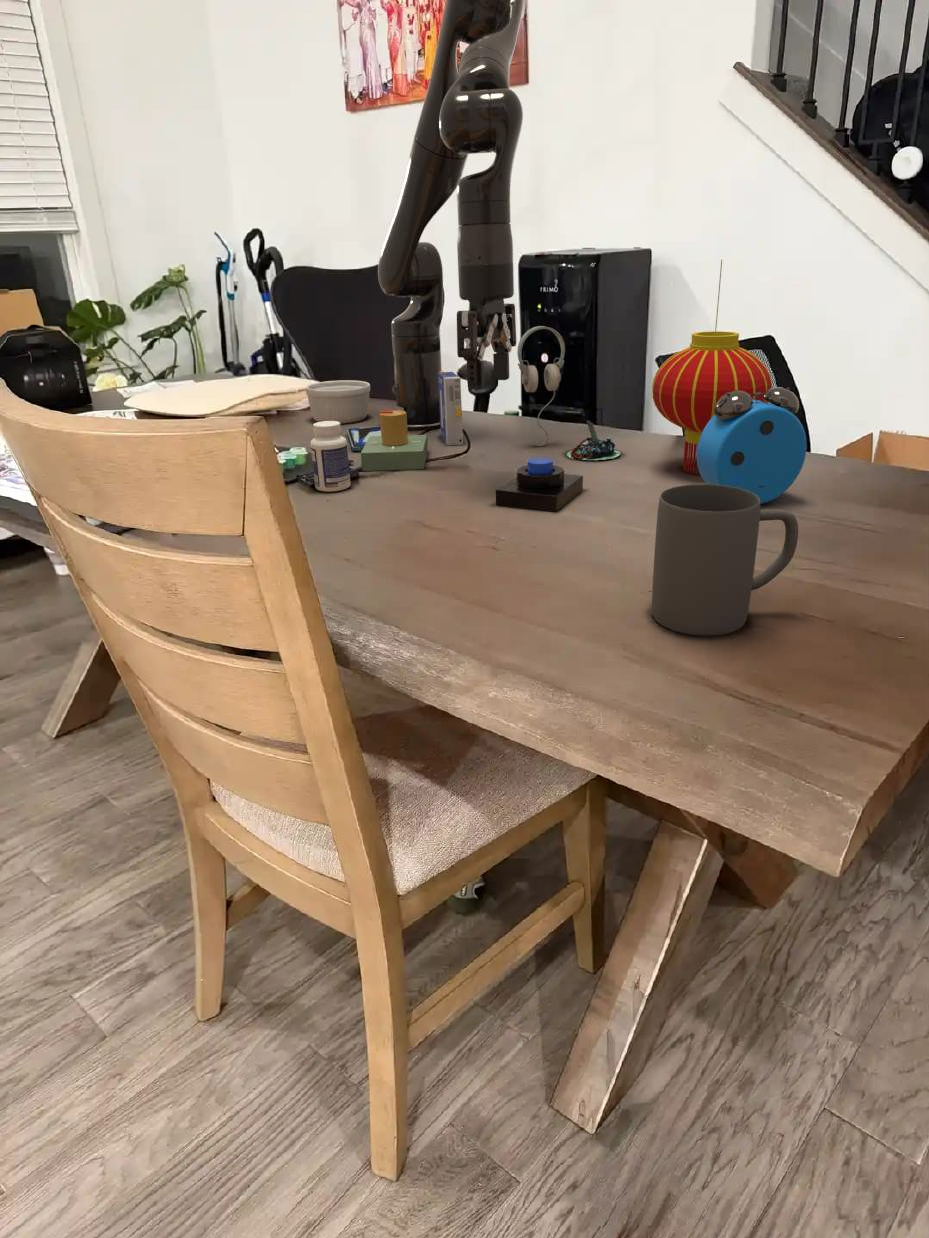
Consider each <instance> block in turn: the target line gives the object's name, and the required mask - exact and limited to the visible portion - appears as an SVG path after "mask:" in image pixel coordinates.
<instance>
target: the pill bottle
mask: <svg viewBox="0 0 929 1238" xmlns="http://www.w3.org/2000/svg"><path fill="white" fill-rule="evenodd" d="M312 429H313V431H312V432H313V434H314V435H315V437H313V438H312V439H311V441H310V454H311V462H312V463H311V464H312V469H313V470H312V471H313V479H314V481H313V482H314V487H315V489H316V490H317V491H321V492H326V493H327V492H328V493H331V492H333V493H334V492H339V491H344V490H346V489H349V488H350V487H351V473H350V472H351V471H350V462H349V452H348V451H349V450H348V441H347V439H346V437H344V436H343V435H341V433H342V427H341V424H340V422H337V421H322V422H317V421H316V422H315V423H313V425H312Z"/></svg>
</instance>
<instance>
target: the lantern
mask: <svg viewBox="0 0 929 1238" xmlns="http://www.w3.org/2000/svg"><path fill="white" fill-rule="evenodd" d="M722 268H723V259H720V270H719V271H720V272H719V281H718V293H717V294H718V295H717V306H716V315H715V316H716V317H715V318H716V319H715V327H714V328H715V329H714V331H711V330H710V331H698V332H693V333H691V343H689V347H687V348H684V349H682V350H679V351H678V352H676V353H674V354H672V355H671V356H670V357H668V358H667V359H665V361H664V362H663V363H661V365H660V366H659V367H658V369H657V371H656V373H655V375H654V377H653V380H652V385H651V388H652V390H651V393H652V400H653V403H654V406H655V408H656V409H657V412H658V413H660V415H661V416H662V417H663V418H664V419H666V420H667V421H668V422H669V423H671V424H673V425H675V426H677V427H679V428H681V429H684V435H685V439H684V450H683V451H684V452H683V462H682V470H683V471H684V472H687V473H689V474H694V475H698V473H699V475H700V472H699V469H698V465H697V448H698V443H699V440H700V437H701V434H702V432H703V430H704V428H705V427H706V425H707V424H708V422H709V421H710V420H711V418H712V417H713V416H714V415H715V413H714V408H715V404H716V402H717V401H718V400H719V398H720V397H721V396H723V395H724V394H726V393H727V392H731V391H735V390H740V391H744V392H746V393H748V394H749V395H750V396H751V398H752V400H756V398H757V400H759V401H762V402H765V403H769V402H768V401H766V400H764V399H763V398H762V395H763V394H764V392H766V391H767V390H768V389H770V388H773V380H772V377H771V374H770V372H769V370H768V369H767V366H766V365H765V364H764V362H762V360H761V359H760V358H759V357H757V356H756V355H755V354H754V353H753V352H751V351H749V350H747V349H745V348H744V347H743V348H742V347H740V343H739V339H740V333H739V332H735V331H719V330H717V327H718V315H719V314H718V313H719V302H720V293H721V292H720V291H721V279H722ZM753 393H761V395H760V396H753Z"/></svg>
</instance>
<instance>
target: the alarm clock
mask: <svg viewBox="0 0 929 1238" xmlns="http://www.w3.org/2000/svg"><path fill="white" fill-rule="evenodd" d="M760 395H761V393H753V396H760ZM762 398H763V399H764V400H766V401H768V403H765V402H762V401H759V400H757V398H756V400H752V398H751V396H750V395H749V394H748V393H746V392H744V391H740V390H735V391H731V392H727V393H726V394H724V395H723V396H721V397H720V398H719V400H718V401H717V402H716V404H715V408H714V413H715V415H714V416H713V417H712V418H711V420H710V421H709V422H708V424H707V425H706V427H705V428H704V430H703V432H702V434H701V437H700V440H699V443H698V448H697V447H696V454H697V465H698V473H700V474H699V475H700V476H701V479H702V481H704V484H711V485H724V486H730V487H736V488H740V489H744V490H747V491H750V492H752V493H754V494H756V495H757V496H758V497H759V498H760V505H763V504H766V503H769V502H771V501H773V500H775V499H777V498H778V497H780V496H782V495H783V494H784V493H785V492H786V491H787V490H788V489H790V487H791V486H792V485H793V484H794V482H795V481H796V479H798V476H799V475H800V473H801V470H802V468H803V466H804V464H805V460H806V455H807V448H808V447H807V437H806V432H805V429H804V426H803V424H802V423H801V421H800V419H799V418H798V417H797V416H796V415H795V414H797V413H798V411H799V408H800V401H799V399H798V397H797V395H796V394H795V393H794V392H792V391H791V390H790V387H786V388H784V387H782V386H781V387H780V386H775V387H772V388H770V389H768V390H767V391H766V392H764V394H763V395H762ZM697 465H696V466H697Z"/></svg>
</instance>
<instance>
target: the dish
mask: <svg viewBox="0 0 929 1238" xmlns="http://www.w3.org/2000/svg"><path fill="white" fill-rule="evenodd" d="M586 424H587V427H588V430H589V434H590V436H588V437H587V438H583V439H582V441H580V442H579V443H578V444H577V445H576V447H574V448H573V449H571V450H570V451H568V452H567V453H566V456H567V457H568V458H570V459H572V460H574V459H575V460H576V459H577V460H579V461H599V460H601V461H602V460H609V459H611V460H613V459H615V458H617V457H619V456H621V454H622V453H621V452H620V451H618V450H616V449H615V447H616V444H615V442H613V441H612V439H611V438H612V437H606V440H605V439H604V440H600V439H599V438H598V435H597V433H596V430H595V426H594V423H593V422H592V421H591V420H588V419H586Z"/></svg>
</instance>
